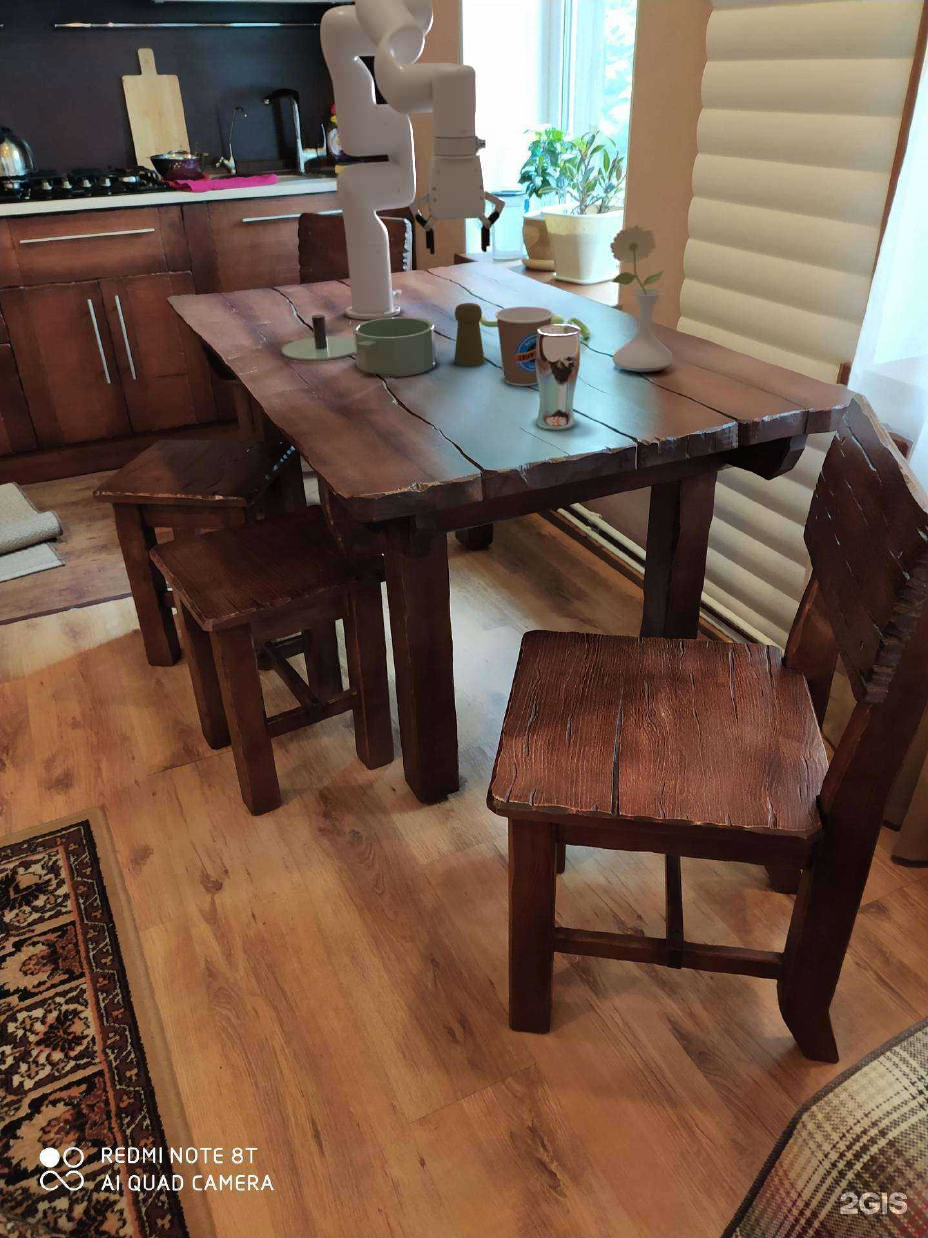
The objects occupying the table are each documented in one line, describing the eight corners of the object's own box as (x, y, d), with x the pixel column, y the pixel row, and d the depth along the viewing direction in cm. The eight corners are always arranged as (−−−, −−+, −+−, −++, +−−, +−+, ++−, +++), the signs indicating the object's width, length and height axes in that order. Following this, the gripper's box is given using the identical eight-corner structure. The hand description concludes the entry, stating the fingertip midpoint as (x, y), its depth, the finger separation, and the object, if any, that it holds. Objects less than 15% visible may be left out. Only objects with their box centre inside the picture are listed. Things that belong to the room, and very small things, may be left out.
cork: (481, 366, 173) (480, 307, 167) (451, 365, 174) (449, 307, 169) (487, 357, 178) (486, 300, 172) (457, 356, 179) (455, 299, 174)
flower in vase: (676, 361, 173) (690, 220, 159) (668, 379, 164) (681, 231, 150) (609, 356, 176) (617, 218, 163) (597, 374, 167) (604, 229, 154)
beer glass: (531, 417, 149) (532, 324, 141) (572, 415, 149) (576, 322, 141) (537, 432, 143) (539, 336, 135) (581, 429, 143) (585, 334, 135)
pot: (333, 374, 172) (328, 335, 168) (393, 347, 187) (390, 311, 183) (399, 385, 165) (396, 345, 161) (456, 355, 180) (455, 318, 176)
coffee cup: (513, 392, 160) (513, 323, 153) (485, 377, 167) (484, 311, 161) (562, 382, 163) (564, 315, 157) (533, 368, 171) (534, 303, 165)
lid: (266, 357, 183) (260, 321, 179) (315, 338, 194) (311, 303, 190) (329, 367, 176) (325, 329, 172) (377, 346, 187) (374, 310, 183)
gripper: (502, 143, 161) (501, 245, 170) (405, 147, 159) (410, 249, 169) (507, 148, 154) (507, 253, 164) (407, 151, 153) (412, 257, 163)
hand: (458, 251), depth 166 cm, fingers open, 9 cm apart
